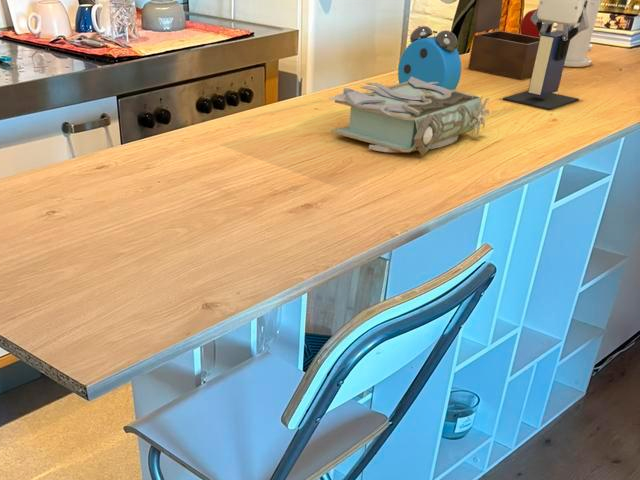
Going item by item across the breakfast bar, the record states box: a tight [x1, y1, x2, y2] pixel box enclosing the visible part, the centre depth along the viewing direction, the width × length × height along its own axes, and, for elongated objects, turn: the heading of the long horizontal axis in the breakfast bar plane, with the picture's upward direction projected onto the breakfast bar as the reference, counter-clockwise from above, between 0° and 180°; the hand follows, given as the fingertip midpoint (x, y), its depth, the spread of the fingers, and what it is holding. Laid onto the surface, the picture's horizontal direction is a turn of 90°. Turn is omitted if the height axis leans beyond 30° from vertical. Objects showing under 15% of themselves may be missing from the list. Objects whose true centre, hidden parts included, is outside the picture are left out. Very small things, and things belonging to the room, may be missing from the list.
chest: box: [467, 29, 540, 81], centre depth 211 cm, size 16×12×8 cm
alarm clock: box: [397, 25, 462, 90], centre depth 178 cm, size 13×6×15 cm, turn 43°
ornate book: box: [327, 76, 491, 157], centre depth 160 cm, size 23×10×30 cm
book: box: [527, 30, 570, 96], centre depth 185 cm, size 8×4×12 cm, turn 136°
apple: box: [520, 8, 553, 38], centre depth 243 cm, size 9×9×10 cm
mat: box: [502, 90, 580, 111], centre depth 190 cm, size 14×12×1 cm
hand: (551, 57), depth 184 cm, fingers closed on book, 3 cm apart
